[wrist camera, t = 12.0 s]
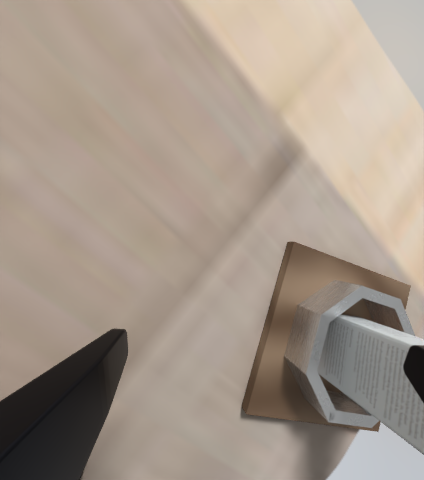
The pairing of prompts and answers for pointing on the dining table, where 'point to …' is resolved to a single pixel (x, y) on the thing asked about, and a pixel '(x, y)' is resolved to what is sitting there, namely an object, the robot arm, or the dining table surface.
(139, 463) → the dining table surface
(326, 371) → the skincare box
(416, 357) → the robot arm
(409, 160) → the dining table surface
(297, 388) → the walnut board
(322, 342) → the steel ring
